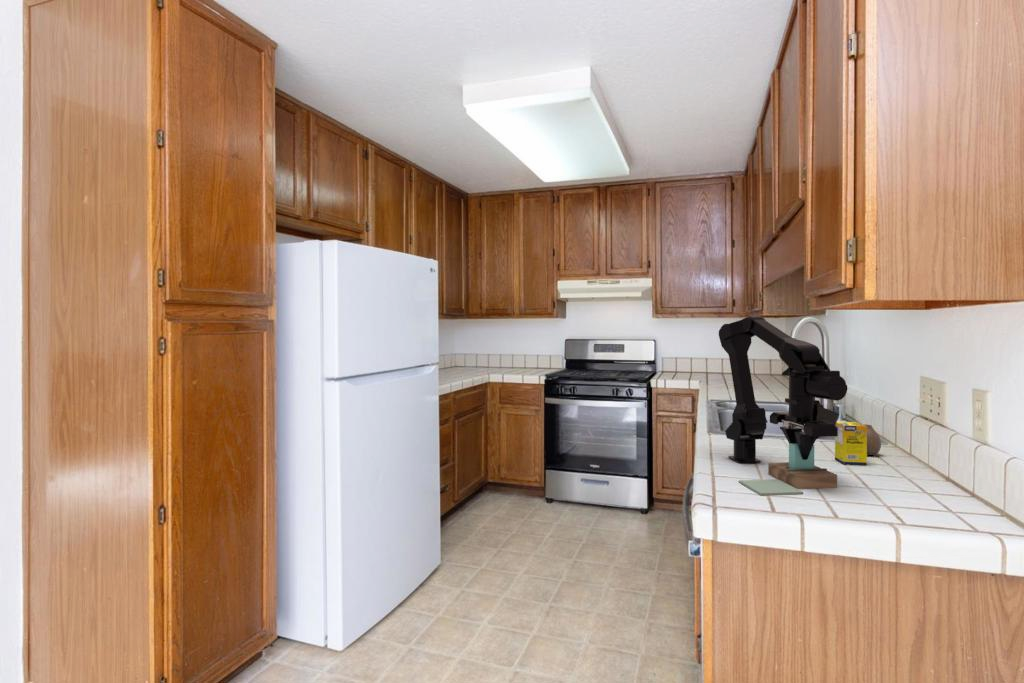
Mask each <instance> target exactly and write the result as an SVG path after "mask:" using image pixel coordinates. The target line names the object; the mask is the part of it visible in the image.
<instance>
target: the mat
mask: <svg viewBox="0 0 1024 683" xmlns="http://www.w3.org/2000/svg"><path fill="white" fill-rule="evenodd" d="M738 483H739V484H740V483H741V485H742V484H743V485H742V486H744V487H745V486H746V488H747V487H748V489H749V490H751V491H752V490H753V491H752V492H754V493H756V494H757V493H758V495H759V496H783V495H784V496H787V495H803V494H804V491H803V490H800V489H796V488H794V487H792V486H790V485H788V484H786V483H784V482H782V481H780V480H779V479H777V478H773V479H748V480H747V479H746V480H745V479H744V480H741V479H740V480H738Z"/></svg>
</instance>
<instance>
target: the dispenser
mask: <svg viewBox="0 0 1024 683" xmlns="http://www.w3.org/2000/svg"><path fill="white" fill-rule="evenodd" d="M767 467H768V469H767V471H768V473H767V474H768V475H769V476H771V477H772V478H774V479H778V480H780V481H782V482H784V483H786V484H788V485H790V486H792V487H794V488H796V489H798V490H800V489H825V488H826V489H827V488H830V489H831V488H838V474H837V473H834V472H831V471H829V470H828V468H826V467H825V468H824V467H823V468H821V467H819V466H816V465H815V464H814V469H789V461H788V462H786V461H785V462H780V461H779V462H768V464H767Z"/></svg>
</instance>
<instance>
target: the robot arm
mask: <svg viewBox="0 0 1024 683" xmlns="http://www.w3.org/2000/svg"><path fill="white" fill-rule="evenodd" d="M755 336H756V337H757V338H759V339H760V340H761V341H763V342H764V343H765V344H766V345H768V346H770V347H771V348H772V349H774V350H775V351H776V352H778V355H779V359H780V360H781V361H782V362H783V363H784V364H785V365H786V366H787V368H786V369H785V370H784V371H782V373H781V375H782V376H785V377H788V397H785V398H784V403H786V404H788V411H773V412H772V413H770V414H769V423H770V424H773V425H778V424H780V423H782V426H779V429H780V430H781V431H782V433H783V435H784V437H785V438H786V440H787V441H788V442H787V443H788V445H789V444H792V443H798V446H799V450H800V454H801V457H802V459H803V460H807V459H808V457H809V454H810V452H811V449H812V447H813V445H815V442H816V441H817V440H818V439H819V438H820V437H835V436H838V427H837V426H836V423H837V422H838V419H839V416H840V413H839V412H837V411H833V410H831V409H828V408H826V407H824V405H823V404H821V401H820V400H818V399H825V400H829V401H837V402H838V401H841V400H843V399H844V398H845V396H846V395H847V392H848V384H847V382H846V380H845V378H844V377H842V376H841V371H840V370H831V369H830V367H829V365H828V364H827V363H826V360H825V359H824V357H823V356H822V354H821V353H820V348H819V347H818V346H817V345H815V344H814V343H811V342H808V341H805V340H800V339H797V338H794V337H792V336H790V335H788V334H787V333H785V332H784V331H782V330H781V329H779V328H778V327H777V326H775V325H773V324H772V323H770V322H769V321H767V320H766V318H764V317H762V316H758V315H757V316H755V315H754V316H746V317H744V318H743V319H740V320H736V321H734V322H729V323H723V325H722V326H720V328H719V331H718V339H719V341H720V345H721V347H722V349H723V350H724V351H725V352H726V354H727V355H728V358H729V364H730V371H731V372H730V373H731V377H732V385H733V390H734V391H733V392H734V396H735V397H734V398H735V403H736V404H735V407H734V408H733V412H732V415H731V417H732V418H731V420H732V422H731V423H730V425H729V426H728V427H727V428H726V430H725V432H724V433H725V436H726V438H727V439H729V440H732V441H733V455H728V458H729V459H730V460H732V461H734V462H736V463H738V464H752V463H754V464H755V463H759V464H760V463H762V460H760V459H758V458H757V456H756V453H757V448H756V445H757V444H756V442H757V441H756V440H763V438H764V435H765V431H766V430H767V423H768V419H767V417H766V416H767V415H766V414H767V413H766V410H765V408H764V407H760V406H759V405H758V404H757V403H756V399H755V398H756V396H755V392H754V386H753V380H752V372H751V367H750V361H749V355H748V352H749V349H750V347H751V344H752V338H753V337H755ZM816 398H818V399H816Z"/></svg>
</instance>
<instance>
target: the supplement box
mask: <svg viewBox="0 0 1024 683" xmlns="http://www.w3.org/2000/svg"><path fill="white" fill-rule="evenodd" d="M836 426H837V427H838V436H834V460H835V461H837V462H838V463H840V464H842V465H847V464H855V465H854V466H867V465H868V464H867V463H868V460H867V459H868V456H867V426H865V425H863V423H860V422H858V421H857V422H855V421H837V423H836Z"/></svg>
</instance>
